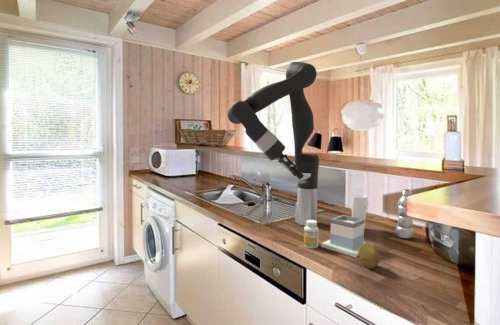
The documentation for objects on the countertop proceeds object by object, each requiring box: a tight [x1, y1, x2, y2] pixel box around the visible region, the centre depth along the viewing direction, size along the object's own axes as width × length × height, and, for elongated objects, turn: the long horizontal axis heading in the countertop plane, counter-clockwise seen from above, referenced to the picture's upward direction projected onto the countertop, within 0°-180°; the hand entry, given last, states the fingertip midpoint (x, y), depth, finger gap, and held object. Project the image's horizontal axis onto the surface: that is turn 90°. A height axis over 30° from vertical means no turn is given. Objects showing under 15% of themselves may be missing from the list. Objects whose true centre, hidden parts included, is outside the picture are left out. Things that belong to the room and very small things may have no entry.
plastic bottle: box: [395, 189, 414, 240], centre depth 127 cm, size 6×7×20 cm
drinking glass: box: [350, 194, 368, 228], centre depth 139 cm, size 7×7×15 cm
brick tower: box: [320, 214, 366, 258], centre depth 116 cm, size 14×14×11 cm
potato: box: [358, 241, 381, 270], centre depth 99 cm, size 7×8×8 cm
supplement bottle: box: [303, 220, 320, 249], centre depth 117 cm, size 5×5×10 cm
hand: (299, 176), depth 116 cm, fingers open, 8 cm apart
